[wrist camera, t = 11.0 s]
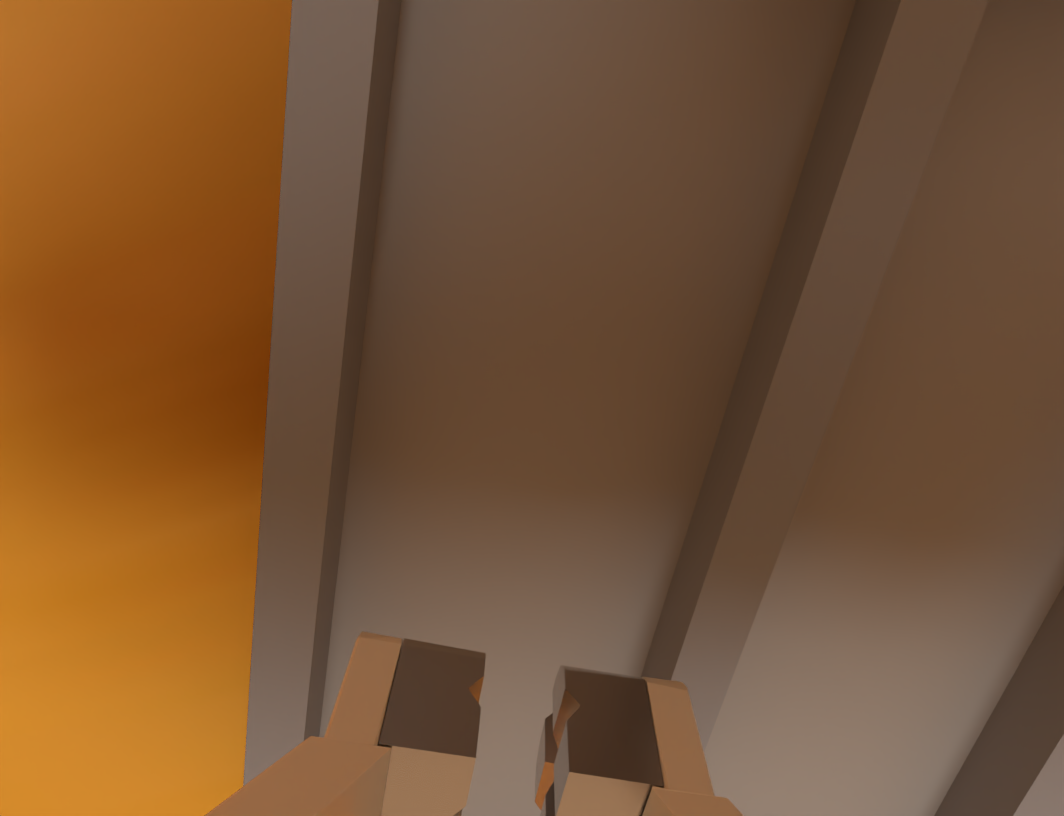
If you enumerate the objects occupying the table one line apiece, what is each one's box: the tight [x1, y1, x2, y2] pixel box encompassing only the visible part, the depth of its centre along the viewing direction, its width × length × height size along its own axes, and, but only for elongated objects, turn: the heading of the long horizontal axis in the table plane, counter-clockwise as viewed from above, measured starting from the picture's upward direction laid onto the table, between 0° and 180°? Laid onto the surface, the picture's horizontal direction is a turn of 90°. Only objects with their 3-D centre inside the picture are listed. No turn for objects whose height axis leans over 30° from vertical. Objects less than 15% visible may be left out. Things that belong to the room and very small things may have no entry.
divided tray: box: [243, 0, 1064, 816], centre depth 14 cm, size 21×15×3 cm
